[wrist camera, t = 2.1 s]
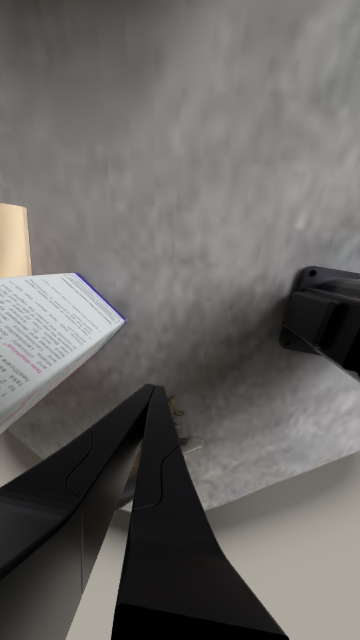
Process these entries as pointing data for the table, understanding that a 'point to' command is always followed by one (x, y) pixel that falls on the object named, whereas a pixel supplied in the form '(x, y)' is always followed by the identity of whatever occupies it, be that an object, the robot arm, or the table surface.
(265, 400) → the table surface
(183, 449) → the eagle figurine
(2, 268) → the pale gold metal plate
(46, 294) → the supplement box
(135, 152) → the table surface
